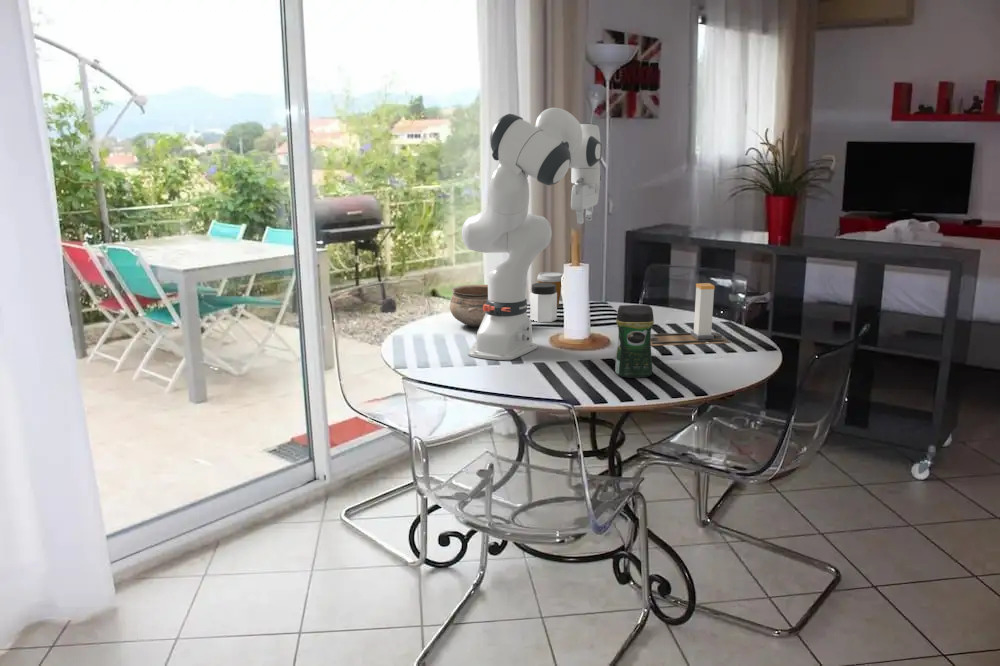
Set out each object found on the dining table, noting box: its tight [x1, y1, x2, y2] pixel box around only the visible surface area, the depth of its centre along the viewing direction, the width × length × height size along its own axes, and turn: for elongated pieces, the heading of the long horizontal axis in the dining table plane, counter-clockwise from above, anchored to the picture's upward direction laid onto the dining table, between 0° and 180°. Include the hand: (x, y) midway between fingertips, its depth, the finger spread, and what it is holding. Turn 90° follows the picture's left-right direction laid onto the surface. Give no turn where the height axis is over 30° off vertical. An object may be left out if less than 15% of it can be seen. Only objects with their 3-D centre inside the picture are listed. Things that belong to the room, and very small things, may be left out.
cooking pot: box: [449, 284, 488, 330], centre depth 262 cm, size 25×19×12 cm
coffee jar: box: [614, 304, 655, 379], centre depth 209 cm, size 10×8×19 cm
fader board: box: [651, 331, 732, 347], centre depth 242 cm, size 26×13×2 cm, turn 97°
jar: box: [529, 282, 558, 323], centre depth 270 cm, size 9×8×12 cm
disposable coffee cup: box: [536, 271, 563, 308], centre depth 290 cm, size 10×10×12 cm
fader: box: [690, 282, 716, 339], centre depth 241 cm, size 5×6×16 cm
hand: (584, 222), depth 253 cm, fingers open, 8 cm apart
